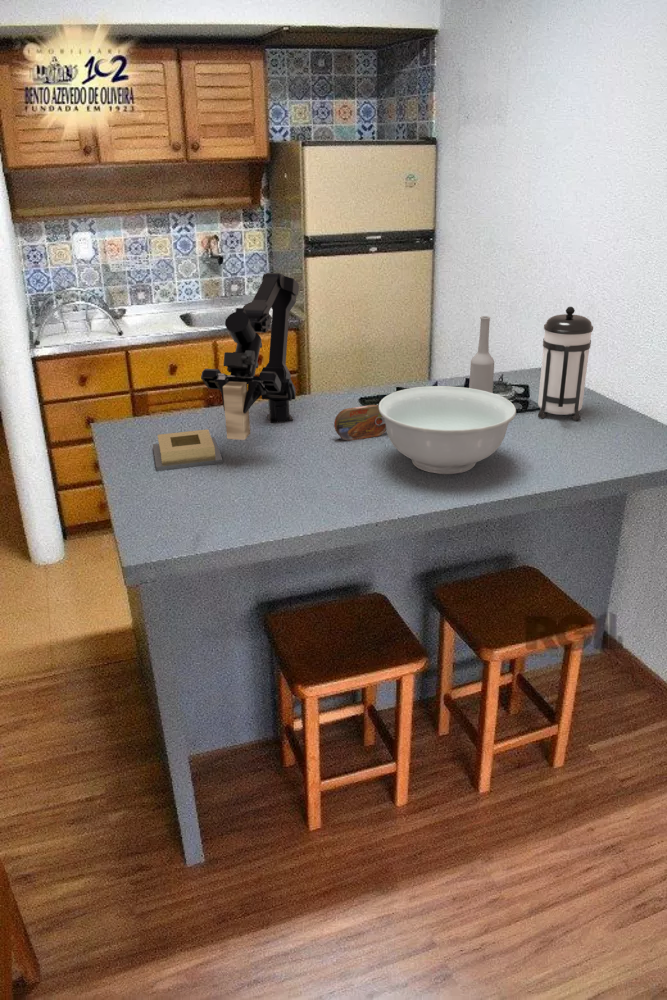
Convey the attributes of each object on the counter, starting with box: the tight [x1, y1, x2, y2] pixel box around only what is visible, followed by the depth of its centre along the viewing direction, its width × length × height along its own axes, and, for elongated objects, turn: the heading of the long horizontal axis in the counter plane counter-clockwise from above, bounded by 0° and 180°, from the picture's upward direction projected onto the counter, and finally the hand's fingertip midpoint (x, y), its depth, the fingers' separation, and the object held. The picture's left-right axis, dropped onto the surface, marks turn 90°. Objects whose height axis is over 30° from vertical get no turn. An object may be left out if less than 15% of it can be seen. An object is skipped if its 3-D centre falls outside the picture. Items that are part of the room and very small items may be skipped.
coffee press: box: [537, 306, 594, 422], centre depth 212 cm, size 17×16×30 cm
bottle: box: [468, 315, 495, 394], centre depth 213 cm, size 7×7×28 cm
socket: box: [152, 429, 223, 471], centre depth 196 cm, size 16×16×4 cm
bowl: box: [378, 385, 517, 475], centre depth 186 cm, size 32×32×15 cm
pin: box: [223, 381, 251, 441], centre depth 186 cm, size 4×4×13 cm
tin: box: [333, 404, 387, 442], centre depth 205 cm, size 15×3×8 cm, turn 109°
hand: (234, 412), depth 185 cm, fingers closed on pin, 4 cm apart
